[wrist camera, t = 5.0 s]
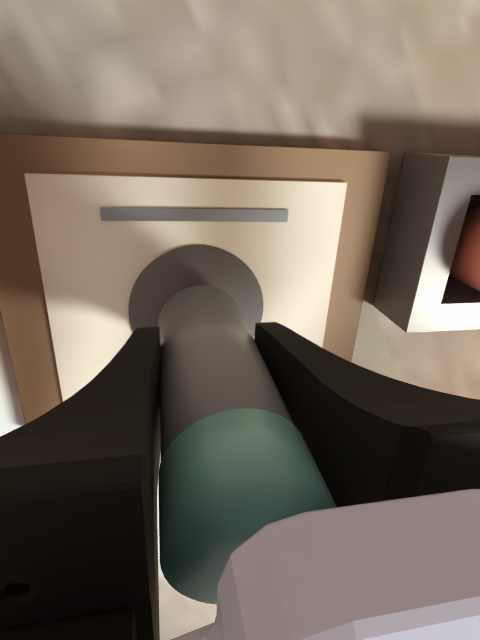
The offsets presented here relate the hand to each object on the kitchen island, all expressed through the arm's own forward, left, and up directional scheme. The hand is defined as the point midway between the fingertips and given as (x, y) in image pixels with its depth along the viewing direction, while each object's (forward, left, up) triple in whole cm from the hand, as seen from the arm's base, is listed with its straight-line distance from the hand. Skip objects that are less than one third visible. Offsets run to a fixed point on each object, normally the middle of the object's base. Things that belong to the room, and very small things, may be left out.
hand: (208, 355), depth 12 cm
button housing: (+11, +3, -4) cm, 12 cm away
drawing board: (0, 0, -4) cm, 4 cm away
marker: (0, 0, -2) cm, 2 cm away
